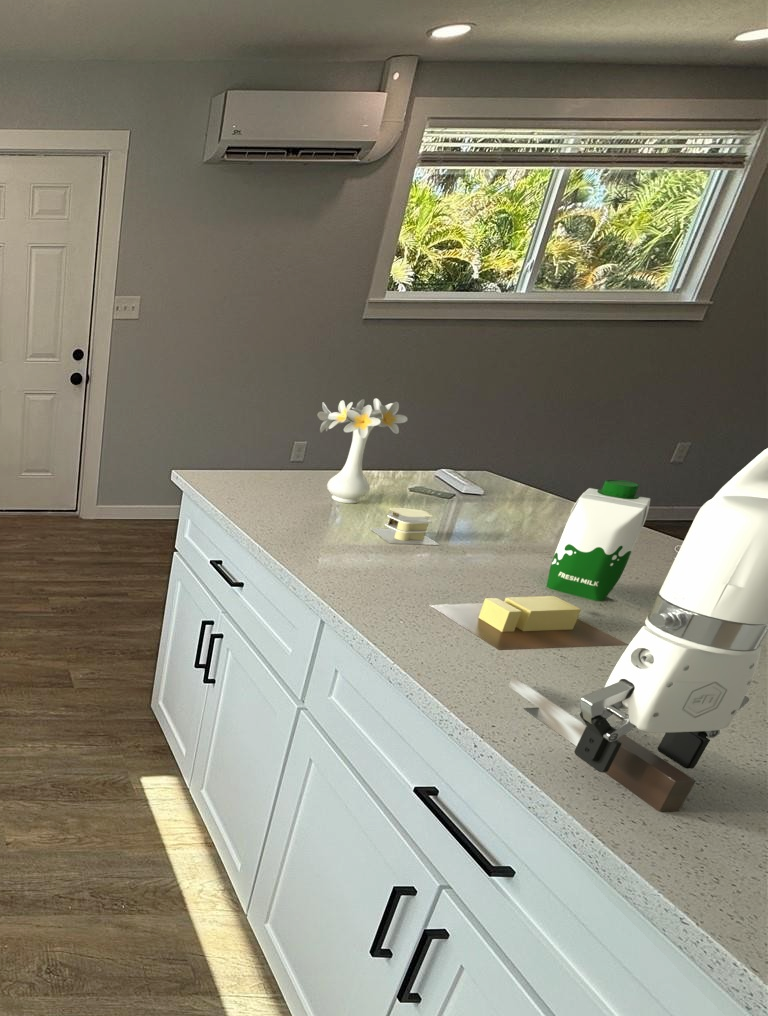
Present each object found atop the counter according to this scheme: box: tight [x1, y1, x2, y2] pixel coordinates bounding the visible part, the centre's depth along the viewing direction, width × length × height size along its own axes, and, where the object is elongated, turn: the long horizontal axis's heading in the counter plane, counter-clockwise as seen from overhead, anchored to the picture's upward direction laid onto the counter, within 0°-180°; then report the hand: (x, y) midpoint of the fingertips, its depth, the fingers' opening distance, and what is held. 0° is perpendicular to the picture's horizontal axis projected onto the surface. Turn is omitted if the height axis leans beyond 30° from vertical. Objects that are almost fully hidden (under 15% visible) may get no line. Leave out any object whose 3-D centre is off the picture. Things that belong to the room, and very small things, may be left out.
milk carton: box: [545, 479, 651, 602], centre depth 106 cm, size 9×9×20 cm
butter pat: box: [479, 597, 522, 632], centre depth 97 cm, size 2×4×4 cm, turn 4°
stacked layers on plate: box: [369, 507, 441, 546], centre depth 135 cm, size 10×9×6 cm
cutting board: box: [428, 602, 629, 651], centre depth 98 cm, size 20×14×2 cm
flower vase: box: [317, 397, 409, 504], centre depth 154 cm, size 13×18×25 cm
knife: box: [508, 676, 697, 813], centre depth 74 cm, size 20×2×4 cm, turn 4°
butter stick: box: [503, 595, 582, 631], centre depth 98 cm, size 8×4×4 cm, turn 93°
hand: (632, 761), depth 68 cm, fingers open, 9 cm apart
